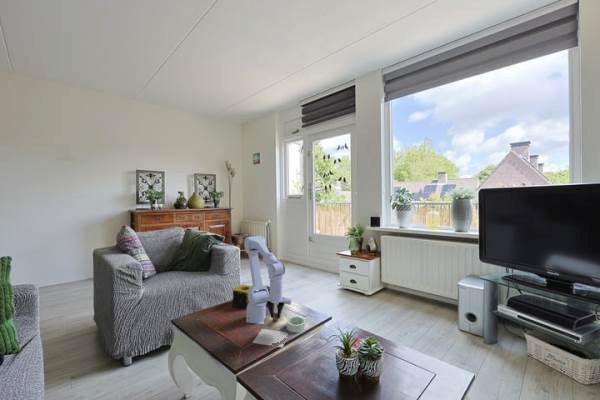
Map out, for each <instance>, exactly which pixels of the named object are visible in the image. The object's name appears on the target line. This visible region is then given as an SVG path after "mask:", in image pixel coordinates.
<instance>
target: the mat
mask: <svg viewBox="0 0 600 400" xmlns="http://www.w3.org/2000/svg"><path fill="white" fill-rule="evenodd" d="M287 332H288V331H281V330H273V329H269V328H268V329H267V328H261V329H260V331H259V332H258V334H257V335H256V337H255V338H254V340H253V341H252V343H253V344H258V345H264V346H271V345H272V343H277V342H279V343H280V341H282V340H283V339H284V338H287V339H288V337H286V336H287V335H288V334H287ZM288 336H289V335H288ZM284 345H285V343H284V344H281V345H279V346H277V347H276V348H283V347H284ZM271 347H274V346H273V345H272V346H271Z"/></svg>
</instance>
